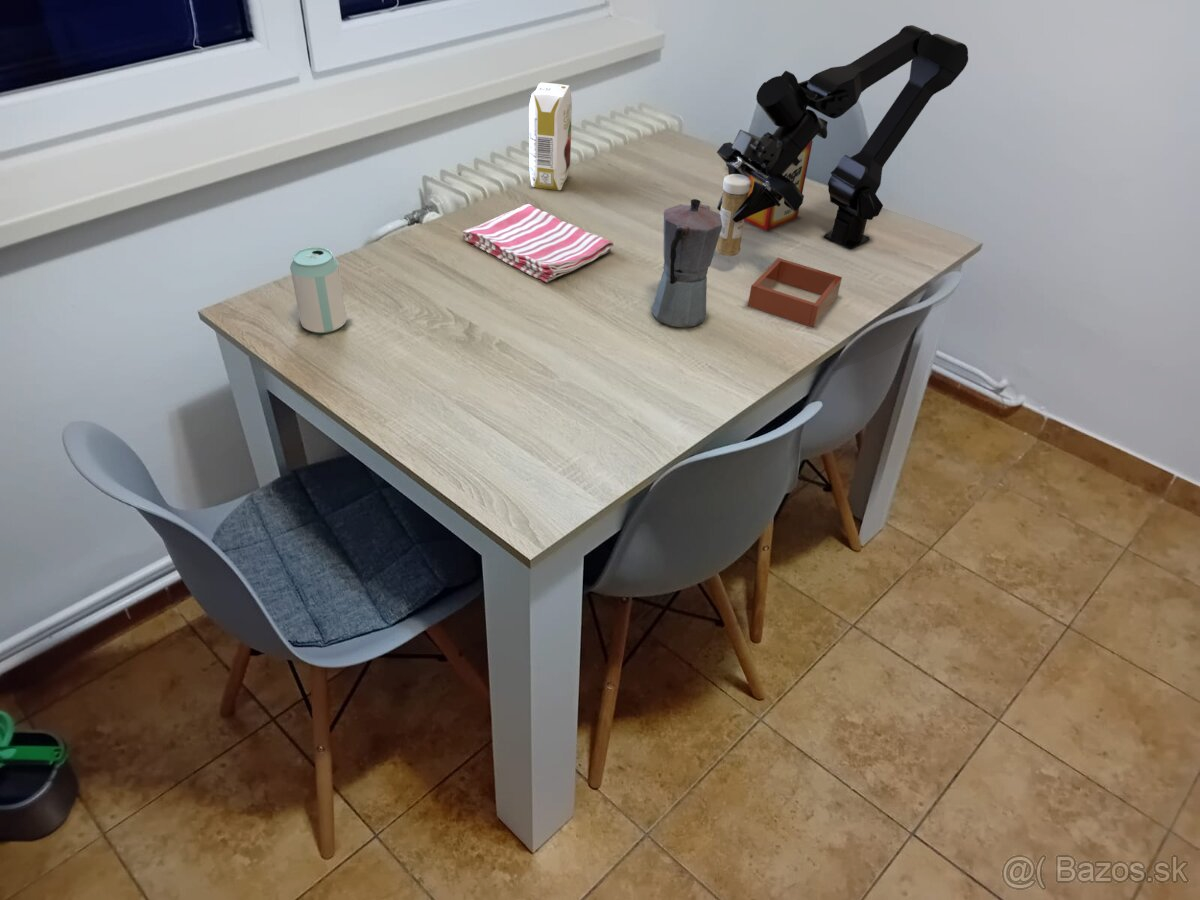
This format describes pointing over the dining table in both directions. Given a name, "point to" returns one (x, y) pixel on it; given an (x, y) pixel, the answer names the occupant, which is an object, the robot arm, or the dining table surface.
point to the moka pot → (686, 263)
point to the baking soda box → (782, 213)
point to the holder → (793, 305)
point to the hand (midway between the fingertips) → (726, 215)
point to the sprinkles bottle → (732, 213)
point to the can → (318, 290)
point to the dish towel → (537, 242)
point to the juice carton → (550, 135)
